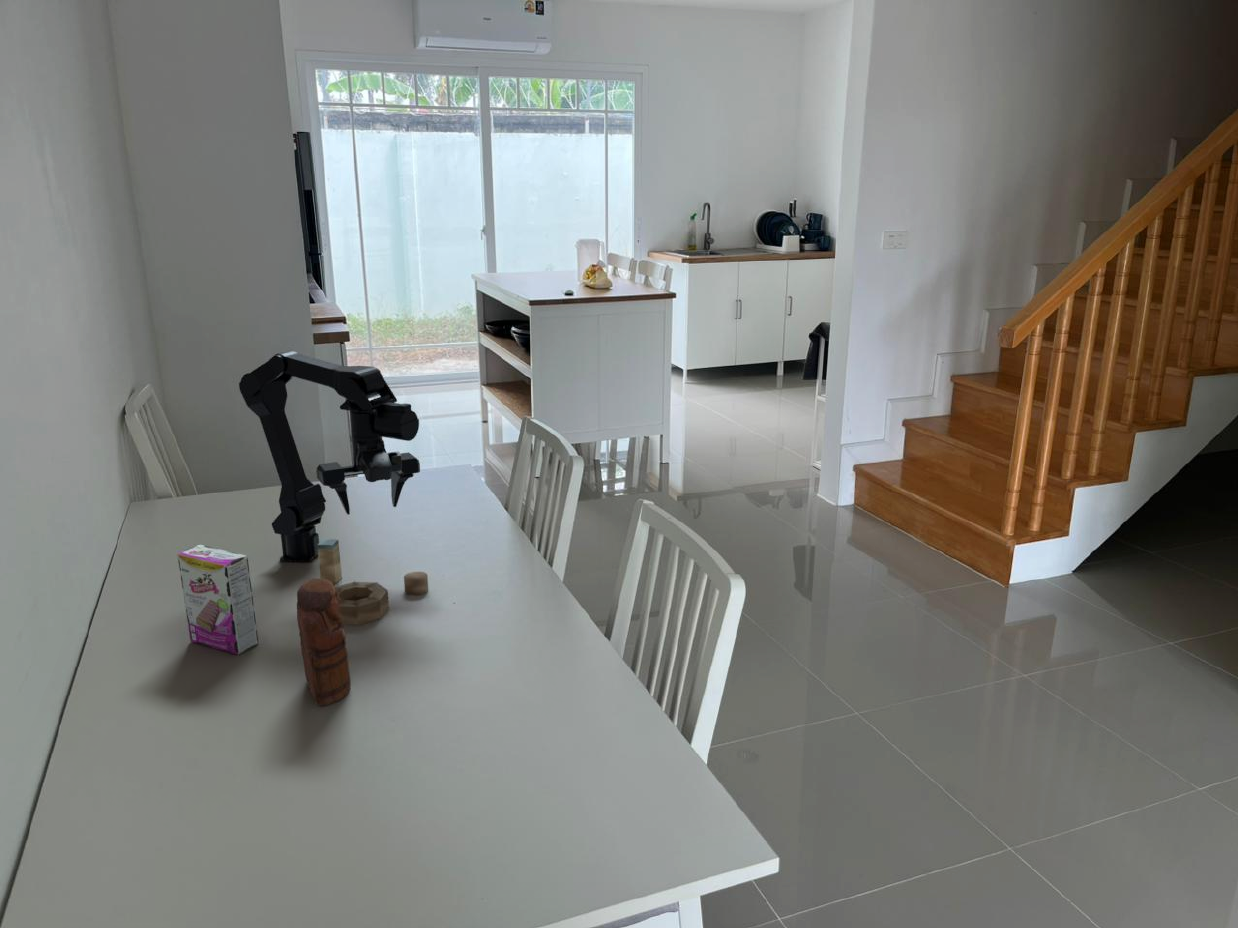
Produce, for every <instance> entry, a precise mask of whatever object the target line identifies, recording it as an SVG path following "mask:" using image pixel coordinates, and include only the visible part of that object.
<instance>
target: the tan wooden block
mask: <svg viewBox="0 0 1238 928" xmlns="http://www.w3.org/2000/svg"><path fill="white" fill-rule="evenodd" d="M317 547H318V554H317V557H318V563H319V564H318V565H319V574H320V575H319V577H320V578H323V579H327V580H329V581H330V582H332V584H333V585H335V584H337V583H338V582H339V581H340V580H341V579H342V578H343V574H342V565H341V563H342V562H341V555H340V554H341V553H340V541H339V539H336V538H334V539H333V538H323V539H322V540H321V541H319V544H318V545H317Z"/></svg>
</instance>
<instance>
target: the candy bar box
mask: <svg viewBox="0 0 1238 928" xmlns="http://www.w3.org/2000/svg"><path fill="white" fill-rule="evenodd" d="M248 557H249V556H248V555H246V554H243V553H236V552H233V551H228V550H224V549H220V548H215V547H212V546H208V545H203V544H198V545H195V546H193V547H190V548H188V549H186V550H183V551H181V552H179V553H177V561H178V562H177V563H178V569H179V572H180V573H179V574H180V579H181V586H182V594H183V599H184V606H185V612H186V619H187V625H188V632H189V640H190V642H191V643H194V644H199V645H202V646H205V647H210V648H213V649H217V650H220V651H223V652H227V653H230V654H233V655H234V654H235V655H237V656H238V655H240V654H243V653H244V652H246V651H248V650H250V649H251V648H252V647H255V646H256V645H258V644H259V637H258V629H257V628H258V627H257V622H256V612H255V605H254V604H255V603H254V598H253V597H254V596H253V589H252V581H251V575H250V574H251V573H250V566H249V558H248Z"/></svg>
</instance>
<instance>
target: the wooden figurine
mask: <svg viewBox="0 0 1238 928" xmlns="http://www.w3.org/2000/svg"><path fill="white" fill-rule="evenodd" d="M335 587H336V586H335V584H334V583H332V582H330V581H329V580H327V579H323V578H321V577H317V578H310V579H308V580H305V581H304V582H302V584H300V586H299V588H298V589H297V591H296V592H297V593H296V597H297V602H296V619H297V625H298V631H299V633H298V634H299V638H300V649H301V657H302V662H303V667H304V673H305V680H306V683H307V685H308V688H309V689H310V692H311V696H312V698H313V700H314V701H315V703H316V704H317V705H320V706H328V705H331V704H333V703H334V702H337V701H340V700H341V699H342V698H343V697H345V696H347V694H348V693H349V692H350V691H351V673H350V667H349V657H348V651H347V646H346V645H347V640H346V639H347V638H346V632H345V630H344V628H343V624H342V620H341V616H340V613H341V608H340V606H339V599H338V595H337V590H336V589H335Z"/></svg>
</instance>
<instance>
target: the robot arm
mask: <svg viewBox="0 0 1238 928" xmlns="http://www.w3.org/2000/svg"><path fill="white" fill-rule="evenodd" d="M294 378H296V379H297V378H298V379H301V380H304V381H308V382H311V383H315V384H318V385H321V386H324V387H329V388H331V389H333V390H334V391H335V392H336V393H337V394H338V395H339V396H341V397H342V398H345V400H344V402H343V403H342V404H341V405H340V406H339V409H340V410H342V411H347V412H348V411H349V420H350V434H351V435H350V442H351V449H352V452H351V453H352V456H351V462H352V465H348V466H347V465H346V466H342V465H340V464H339V463H338V462H337V461H336V462H335V461H334V462H329V463H328V462H327V463H320V464H318V465H317V467H316V470H315V471H316V479H317V480H318V481H319V482H320V483H321V484H319V483H317V484H316V483H315V484H314V483H313V482H311V481H310V480H309V479H308V477H307V476H306V472H305V469H304V467H303V463H302V460H301V457H300V455H299V451H298V448H297V444H296V442H295V438H294V436H293V433H292V430H291V427H290V423H289V420H288V418H287V414H286V403H287V400H288V391H287V384H288V383H289V382H290V381H291V380H293V379H294ZM238 383H239V384H238V387H239V388H238V389H239V392H240V394H241V396H242V399H243V400H244V402H245V404H246V406H247V407H248V409H250V410H251V411H252V412H253V413H254V415H256V416H257V417H258V418H259V420H260V424H261V426H262V429H263V432H264V436H265V438H266V439H265V440H266V441H267V445H268V448H269V450H270V453H271V457H272V459H273V463H274V465H275V469H276V472H277V475H278V477H279V481H280V486H281V488H280V494H279V498H278V504H279V509H280V513H279V514H278V515H277V517H276V518H275V519H273V521H272V522H271V527H272V530H273V532H274V533H275V535H276V534H278V535H280V540H281V550H282V555H281V556H280V557H279V561H280V562H296V563H297V562H298V563H300V562H301V563H305V562H306V563H309V562H311V561H312V560H314V559H315V557H317V556H318V547H317V545H318V544H319V543H320V537H319V533H318V532H317V530H316V525H318V524H321V523H322V522H321V521H322V519H323V518H322V516H323V515H324V513H325V511H326V502H327V500H326V498H325V496H324V494H323V491H322V486H321V485H323V486H324V487H328V488H330V489H331V490H334V491H335V492H336V494H337V496H338V498H339V500H340V502H341V505H342V507H343V509H344V511H345V514H346V515H347V516H348V515H350V511H351V510H350V509H351V508H350V503H349V497H348V490H347V489H348V485H347V484H346V482H345V480H346V477H352V476H358V475H364V478H365V480H366V481H367V482H368V483H375V482H378V481H384V480H385V481H389V480H390V489H391V491H390V493H391V496H390V497H391V503H392V507H394V508H396V507H397V505H398V502H399V499H400V496H401V493H402V491H403V487H404V485H405V483H406V482H407V481H408V480H409V479H411V478H413V477H414V475H415V474H419V473H420V472H421V465H420V464H421V463H420V461H419V459H418V458H417V457H415V456H414V455H413V454H412V453H410V452H401V453H400V451H391V452H390V451H389V452H387V451H386V447H385V441H384V439H383V438H386V439H387V438H389V439H395V440H398V441H400V440H401V441H407V442H411V441H412V440H414V439H415V438H416V437H417V434H418V431H419V427H420V419H419V418H418V415H417V413H416V412H415V411H413V410H412V404H410V403H398V399H397V398H396V396H395V394H394V393H393V390H391V388H390V385H388V382H387V381H386V380H385V379H384V376H383V374H382V372H381V370H380V368H377V367H375V366H367V365H342V364H341V365H340V364H338V363H333V362H329V361H325V360H323V359H319V358H315V357H311V356H308V355H304V354H301V353H299V352H296V351H294V350H288V351H287V350H286V351H283V352H278V353H276V354H274V355H273V356H272V357H271V358H269V359H268V361H266V362H264V363H263V364H262V365H260V366H258V367H257V368H255V369H253V370H251V372H247V373H244V375H243V376H242V377H241V379H240V381H239V382H238ZM378 396H379V397H378ZM375 397H376V398H375ZM372 398H373V399H372ZM369 399H371V400H369Z"/></svg>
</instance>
